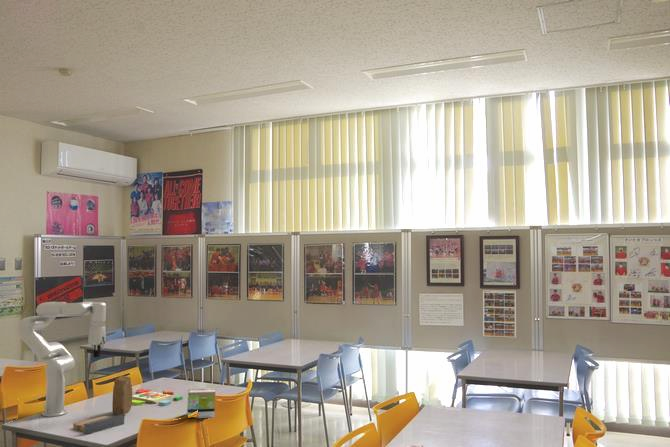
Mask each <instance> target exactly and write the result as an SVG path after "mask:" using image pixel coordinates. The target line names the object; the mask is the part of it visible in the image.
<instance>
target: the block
mask: <svg viewBox="0 0 670 447" xmlns="http://www.w3.org/2000/svg"><path fill="white" fill-rule="evenodd" d="M131 379H132V378H131V376H120V377H118V378H115V380H114V381H113V382H114V383H113V384H114V385H113V387H112V389H113V390H112V413H113V414H115V415H118V414H127V413H128V412H130V410H131V408H132V406H133V405H132V396H133V386H132V380H131Z"/></svg>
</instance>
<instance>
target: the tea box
mask: <svg viewBox="0 0 670 447" xmlns="http://www.w3.org/2000/svg"><path fill="white" fill-rule="evenodd" d="M215 407H216V389H215V388H214V387H211V388H210V387H207V388H206V387H204V388H189V389H188V391H187V409H186V410H187V412H186V414H187V415H189V414H191V413H193V412H195V411H197V410H198V416H197V418H196V419H210V418H212V419H213V418H215V411H216V410H215V409H216V408H215Z"/></svg>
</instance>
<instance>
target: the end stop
mask: <svg viewBox="0 0 670 447" xmlns="http://www.w3.org/2000/svg"><path fill="white" fill-rule="evenodd" d="M125 414H126V413H125ZM125 414H115V415H111V416H107V418H103V419H100V420H96V421H92V422H88V423H85V424H84V432H83V434H84V435H90V434H94V433H97V432H100V431H103V430H108V429H111V428H115V427H118V426H121V425H124V424H125ZM93 432H94V433H93Z"/></svg>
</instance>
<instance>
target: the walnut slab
mask: <svg viewBox="0 0 670 447" xmlns="http://www.w3.org/2000/svg"><path fill="white" fill-rule="evenodd" d="M107 417H108V415H107V416H106V415H101V416H98V417H93V418H90V419H86V420H82V421H78V422H74V423H72V424H73V426H72V427H73V430H77V431H81V432H83V433H84V424H85V423H88V422H92V421H96V420H100V419H103V418H107Z"/></svg>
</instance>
